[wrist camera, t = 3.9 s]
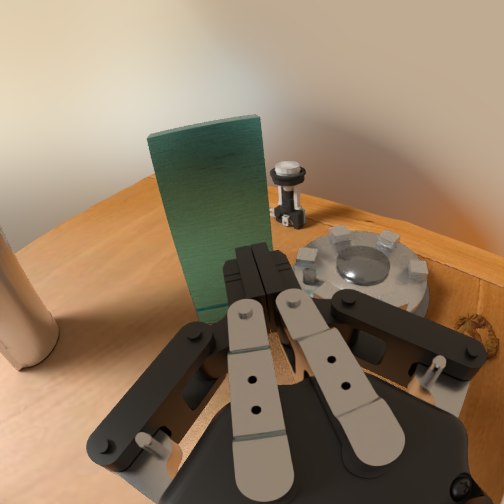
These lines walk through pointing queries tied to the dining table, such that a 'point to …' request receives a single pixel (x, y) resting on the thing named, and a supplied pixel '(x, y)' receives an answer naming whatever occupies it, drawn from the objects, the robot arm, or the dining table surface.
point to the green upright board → (261, 222)
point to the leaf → (470, 326)
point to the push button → (288, 193)
